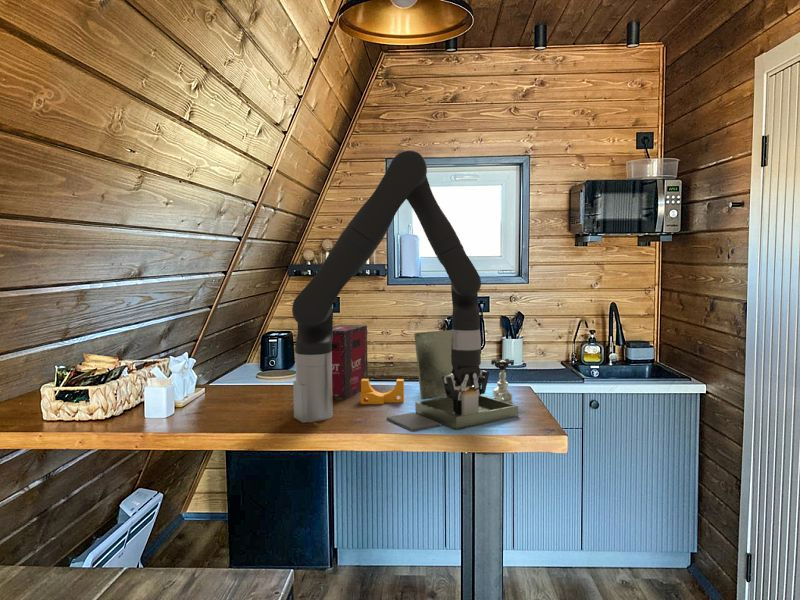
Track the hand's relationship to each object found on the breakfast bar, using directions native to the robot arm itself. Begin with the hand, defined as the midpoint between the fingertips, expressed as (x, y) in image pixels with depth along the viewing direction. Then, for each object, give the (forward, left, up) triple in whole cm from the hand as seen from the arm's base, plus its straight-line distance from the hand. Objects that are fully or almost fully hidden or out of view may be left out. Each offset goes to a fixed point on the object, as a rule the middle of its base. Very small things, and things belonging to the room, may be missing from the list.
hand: (466, 412), depth 143 cm
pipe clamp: (-11, +24, -1) cm, 27 cm away
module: (0, 0, 0) cm, 0 cm away
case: (0, 0, -1) cm, 1 cm away
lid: (0, +9, +3) cm, 9 cm away
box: (-15, +41, -1) cm, 44 cm away
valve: (+17, +5, -1) cm, 18 cm away
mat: (-15, +2, -1) cm, 15 cm away
